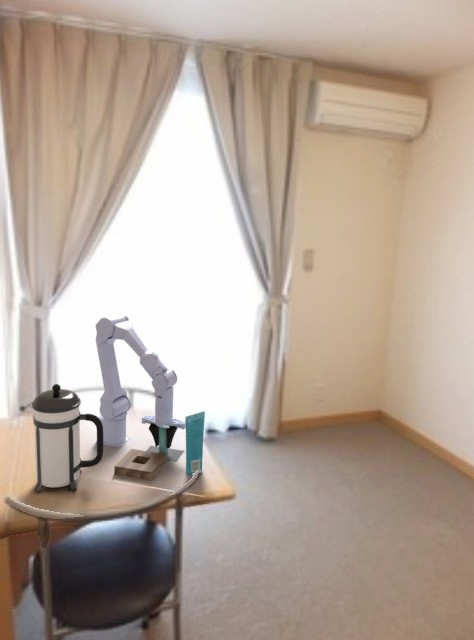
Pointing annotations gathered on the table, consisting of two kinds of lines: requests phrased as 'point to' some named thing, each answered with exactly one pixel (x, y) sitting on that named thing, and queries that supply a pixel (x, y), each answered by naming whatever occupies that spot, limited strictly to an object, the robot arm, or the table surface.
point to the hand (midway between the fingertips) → (163, 446)
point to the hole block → (140, 464)
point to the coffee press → (60, 438)
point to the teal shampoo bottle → (194, 442)
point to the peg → (163, 440)
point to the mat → (172, 453)
